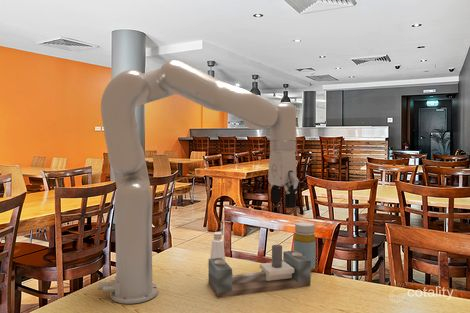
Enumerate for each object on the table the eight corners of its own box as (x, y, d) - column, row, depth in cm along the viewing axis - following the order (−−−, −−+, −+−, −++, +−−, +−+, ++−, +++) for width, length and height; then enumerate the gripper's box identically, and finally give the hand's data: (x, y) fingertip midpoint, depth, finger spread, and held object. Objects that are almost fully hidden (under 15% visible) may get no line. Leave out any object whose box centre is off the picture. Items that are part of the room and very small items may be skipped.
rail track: (217, 298, 101) (217, 268, 101) (208, 284, 111) (208, 256, 110) (310, 285, 110) (311, 258, 110) (294, 273, 120) (294, 248, 119)
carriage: (268, 282, 108) (269, 250, 107) (259, 274, 114) (260, 244, 114) (294, 279, 110) (294, 248, 110) (283, 271, 117) (284, 241, 116)
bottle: (316, 273, 120) (317, 226, 120) (294, 272, 121) (295, 226, 120) (312, 265, 127) (313, 221, 127) (291, 265, 128) (292, 221, 127)
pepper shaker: (209, 262, 130) (209, 230, 129) (225, 262, 130) (225, 230, 129) (209, 267, 124) (209, 234, 124) (225, 267, 125) (226, 234, 124)
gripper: (259, 146, 118) (259, 200, 119) (284, 147, 102) (284, 211, 103) (281, 145, 120) (281, 199, 121) (309, 147, 104) (308, 209, 105)
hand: (282, 204), depth 112 cm, fingers open, 9 cm apart
